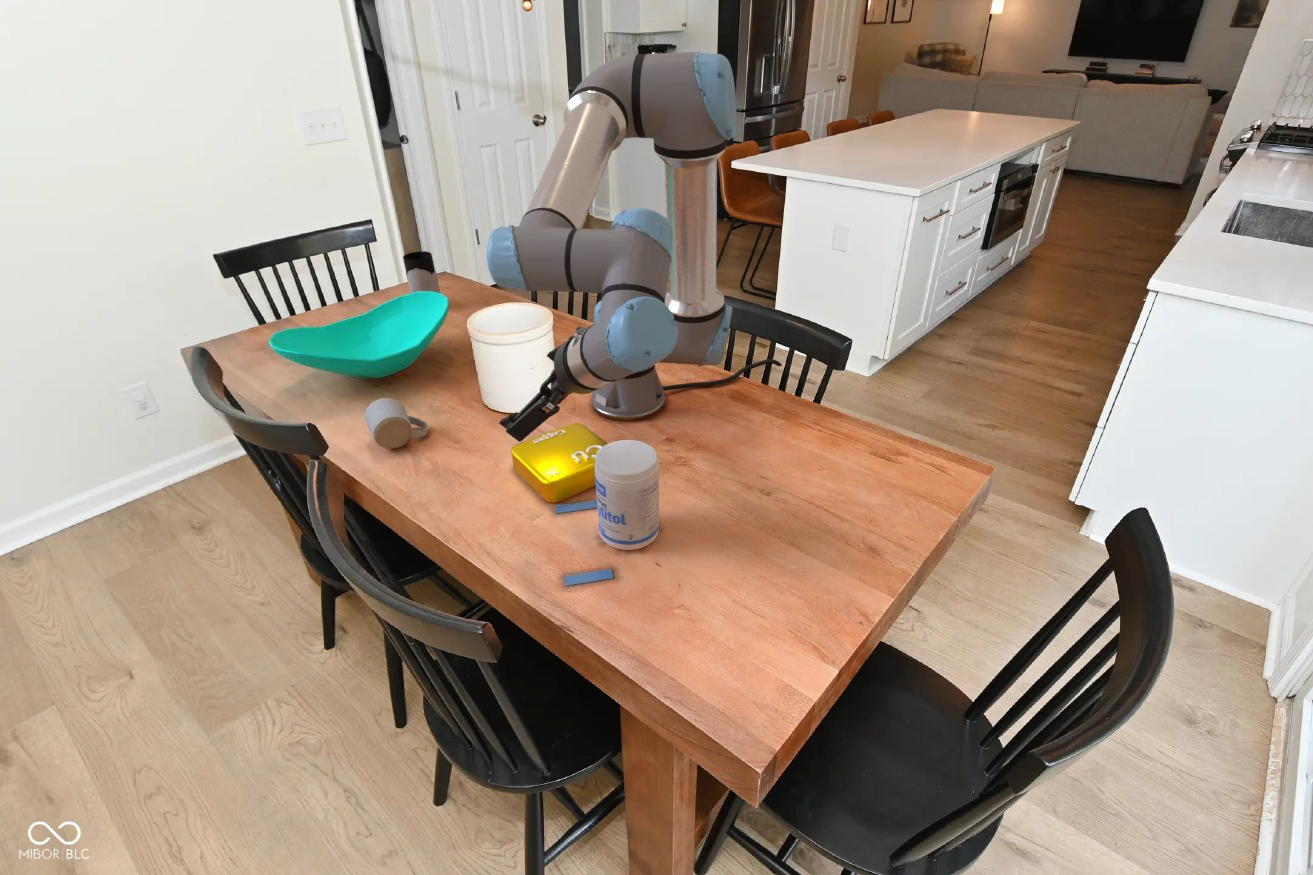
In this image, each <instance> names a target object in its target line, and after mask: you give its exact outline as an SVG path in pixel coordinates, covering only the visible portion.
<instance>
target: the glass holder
mask: <svg viewBox="0 0 1313 875" xmlns="http://www.w3.org/2000/svg"><path fill="white" fill-rule="evenodd" d="M402 260H403V264H404V269H405V275H406V280H407V285H408V290H409V294H410V293H414V292H418V291H433V292H436V293H440V294H441V291H440V285H439V279H438V275H437V270H436V268H435V264H434V258H433V254H432V252H429V251H427V250H424V251H423V250H421V251H412V252H408V253H406V254H404V255H403V256H402Z"/></svg>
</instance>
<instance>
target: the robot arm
mask: <svg viewBox="0 0 1313 875" xmlns="http://www.w3.org/2000/svg"><path fill="white" fill-rule="evenodd" d="M737 123H738V120H737V96H736V85H735V79H734V74H733V69H732V66H731V64H730V61H729V59H728V58H727V57H726V56H725V55H723V54H721V53H709V52H700V51H687V52H686V51H685V52H667V53H666V52H664V53H663V52H662V53H628V54H624V55H620V56H617V57H615V58H613V59H610V60H608V61H606V62H605V63H604V64H601V65H600V66H598V67H597V68H596V69H594V70H593V71H592V72H590V73H589V75H587V76H586V77H585V78H584V79H583V80H582V81H581V82H580V83H579V84H578V85H577V86H576V88H575V89H574V91H573V92H572V94H571V95H570V97H569V98H568V101H567V103H566V105H565V108H564V110H563V125H564V127H563V129H562V131H561V133H560V135H559V137H558V140H557V142H556V144H555V146H554V149H553V150H552V153H551V155H550V157H549V159H548V162H547V164H546V166H545V169H544V170H543V172H542V175H541V177H540V179H539V181H538V184H537V185H536V188H535V190H534V192H533V194H532V197H531V199H530V201H529V203H528V206H527V207H526V210H525V212H524V214H523V216H522V217H521V220H520V222H519V224H518V226H516V225H515V226H514V224H510V225H507V226H499V227H497V228H494V229H493V230H492V231H491V233H490V235H489V237H488V240H487V245H486V265H487V269H488V271H489V274H490V277H491V279H492V281H493V282H494V283H495V285H497V286H499V287H500V288H503V289H511V290H520V291H525V292H561V293H563V292H564V293H585V294H586V293H587V294H601V296H600V297H601V298H600V300H599V301H598V302H597V304H596V305H595V307H594V309H593V310H594V311H593V318H594V320H593V321H594V323H593V324H591V325H589V327H587V328H586V327H585V326H582V325H579V326H577V327H576V328H575V331H574V332H573V335H571V336H569V337H568V339H567V340H566V341H564V342H562V343H561V344H560V345H558V346H557V347H555V348H554V349H552V350H550V351H549V352H548V353H547V354H546V357H547V358H548V359H549V360H551V361H552V362H553V369H552V370H551V372H550V375H549V376H548V377H547V378H546V379H545V380H544V381H543V382H542V383H541V385H540V388H539V392H538V393H536V395H535V396H534V397H532V399H531V400H530V401H529V402H528V403H527V404H525V406H524V407H523V408H522V409H521V410H520V411H519V412H517V411H516V412H513V413H512V414H511V413H510V414H508V415H507V416H505V417H502V418H501V419H500V421H498V424H499V425H500V426H501V427H502V428H504V429H505V433H507V434H508V435H509V436H510V437H511V438H513V439H514V440H516V441H517V442H518V443H521V442H524V439H526V438H527V437H528V436H529V435H530V434H531V433H533V432H534V431H535V430H537V428H539V427H540V426H541V425H542V424H544V423H545V422H546V421H547V420H549V418H551V417H553V416H555V415H556V414H559V412H560V410H561V407H560V406H559V405H560V404H561V403H562V402H563V401H564V400H565V399H566V398H567V397H568V396H569V395H572V394H576V395H577V394H578V395H588V394H591V407H592V410H593V411H594V412H595V413H596V414H597V415H599V416H600V417H602V418H605V419H609V420H613V421H618V422H620V421H621V422H633V421H639V420H643V419H647V418H650V417H652V416H654V415H656V414H657V413H659V412H660V411H661V410H662V409H663V408H664V406H665V402H666V399H665V398H666V395H665V392H666V391H667V392H668V391H673V390H681V389H689V388H701V387H703V388H704V387H712V386H713V387H714V386H719V385H724V384H727V383H729V382H732V381H734V380H735V379H737V378H739V377H740V376H741V375H742V374H744V373H745V372H747V371H749V370H752V369H755V368H758V367H761V366H765V365H770V364H771V365H775V366H776V367H782V366H783V364H782V363H781V362H780V361H778V360H777V359H773V358H768V359H763V360H759V361H757V362H754V363H750V364H748V365H746V366H744V367H742V368H741V369H739V370H738V371H737V372H735V373H733V374H732V375H730V376H728V377H725V378H721V379H717V380H710V381H709V380H708V381H698V382H687V383H677V384H670V385H663V384H662V382H661V380H660V377H659V374H658V371H657V369H656V364H658V363H659V364H661V363H662V364H677V365H691V366H692V365H694V366H698V367H703V366H718V365H720V364H721V363H722V362H723V360H724V358H725V353H726V347H727V343H728V338H729V332H730V328H731V327H730V326H731V320H732V315H733V307H732V306H731V305H729V304H725V296H724V294H723V293H722V292H721V291H720V290H719V289H718V288H717V228H718V227H717V226H718V225H717V223H718V222H717V221H718V220H717V213H718V209H717V208H718V207H717V206H718V204H717V203H718V201H717V200H718V194H717V193H718V192H717V190H718V159H719V157H721V156H722V155H723V154H724V153H725V152H726V150H727V148H728V147H727V145H728V144H727V142H728V141H730V140H731V139H734V137H736V133H737ZM631 138H636V139H637V138H639V139H652V140H653V150H654V154H655V155H656V156H657V157H658V158H660V159H661V160H662V162H663V167H664V168H663V169H664V184H665V185H664V188H665V190H664V192H665V212H666V213H665V214H666V217H665V216H664V215H662V214H660V213H659V212H656V211H655V210H652V209H649V208H644V207H631V208H628V209H627V210H621V211H619V212H618V213H617V214H616V215H615V216H614V217H613V221H612V223H611V225H610V229H605V228H584V226H585V223H586V221H587V218H588V215H589V213H590V210H591V208H592V204H593V202H594V200H595V197H596V195H597V192H598V189H599V187H600V184H601V181H602V179H603V176H604V174H605V171H606V168H607V165H608V163H609V160H610V158H611V155H612V152H614V151H615V150H617V149H618V148H619V147H620V146H621V144H622V143H623V142H624V140H625V139H631ZM668 282H669V283H668ZM668 284H669V290H668ZM667 290H668V291H667ZM549 385H550V387H549Z"/></svg>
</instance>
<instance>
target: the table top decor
mask: <svg viewBox="0 0 1313 875" xmlns="http://www.w3.org/2000/svg"><path fill="white" fill-rule="evenodd" d="M449 308H450V299H449V298H448V297H447V296H446V295H445V294H443V293H441V292H440V293H436V292H433V291H418V292H414V293H410V292H409V293H406V294H403V295H400V296H397V297H395V298H392V299H390V300H387V301H385V302H383V303H381V304H380V305H378V306H376V307H374V308H372V309H370V310H368V311H367V312H365V313H363V314H360V315H355V316H353V317H349V318H344V319H341V320H337V321H335V322H332V323H329V324H326V325H323V326H299V327H293V328H287V329H282V330H280V331H277V332H275V333H273V334H272V335H271V337H270V338H269V339H268V343H269V345H270V348H272V350H273V351H274V352H275V353H276V355H278V356H280V357H283V358H285V359H286V360H289V361H291V362H293V363H296V364H298V365H301V366H303V367H304V366H305V367H308V368H312V369H314V370H315V369H316V370H320V371H324V372H329V373H333V374H338V375H342V376H348V377H352V378H358V379H363V380H364V379H366V380H369V379H370V380H371V379H382V378H384V377H387V376H391V375H393V374H396V373H398V372H401V371H403V370H404V369H406V368H409V367H410V366H411V365H412V364H413V363H414V362H415V361H416V360H418V358H419V357H420V356H421V355H422V353H423V352H424V351H425V350H426V349H427V348H428V346H429V345H430V344H431V342H432V341H433V340H434V338H435V337H436V335H437V333H438V332H439V331H440V329H441V328H442V326H443V325H444V322H445V321H446V318H447V316H448V313H449Z"/></svg>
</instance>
